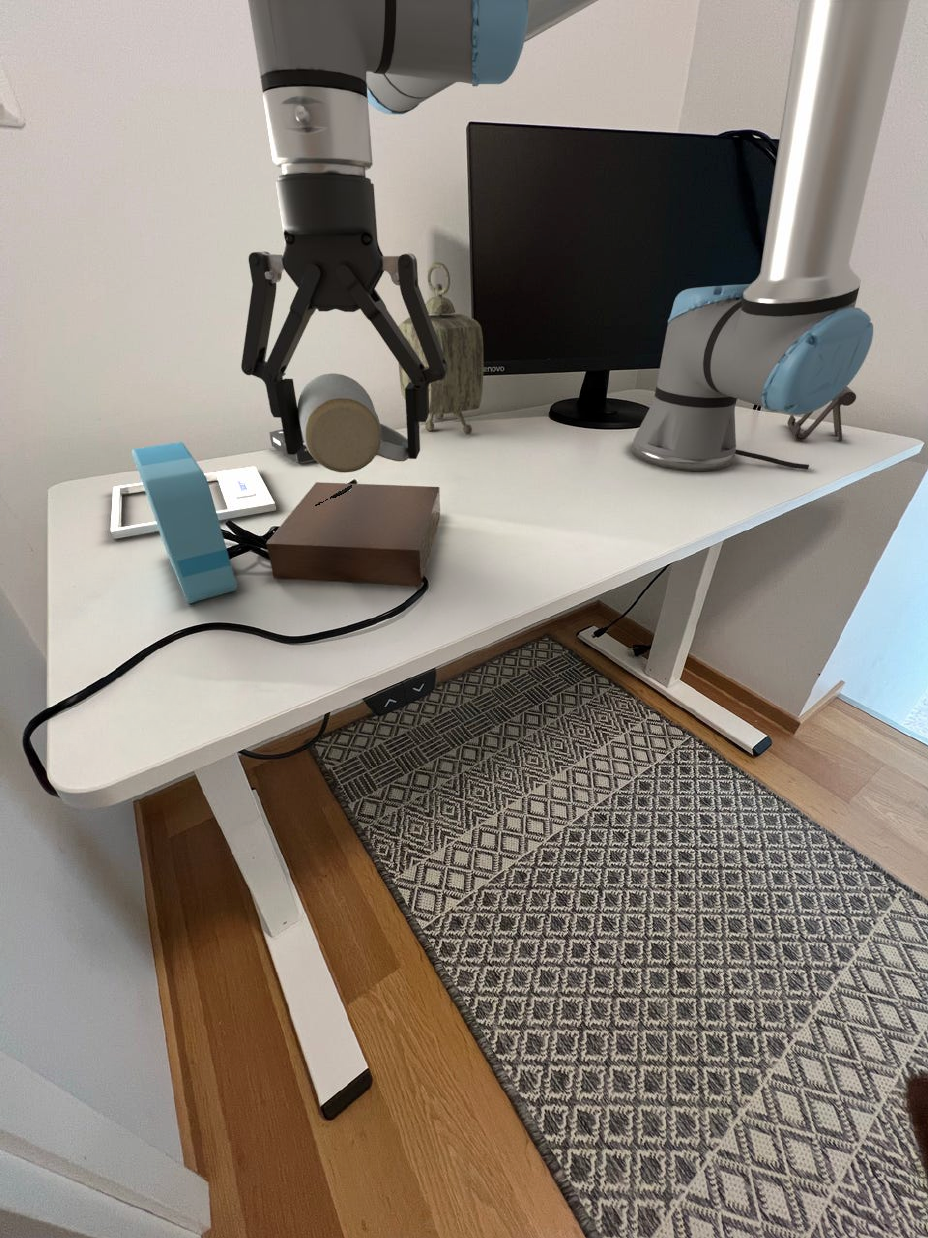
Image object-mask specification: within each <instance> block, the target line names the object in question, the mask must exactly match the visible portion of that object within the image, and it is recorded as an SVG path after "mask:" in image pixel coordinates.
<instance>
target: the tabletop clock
mask: <svg viewBox="0 0 928 1238" xmlns="http://www.w3.org/2000/svg"><path fill="white" fill-rule="evenodd" d="M437 268H438V269H442V271H443V272H444V274H445V277H446V286H445V287H444V288H443V285H442V284H441V283H436V284H435V285H434V286H433V284H432V281H431V279H432V278H431V276H432V273H433V271H434V269H437ZM427 284H428V287H429V290H431V291H432V293H433V294H435V296H434V297H430V298H429V299H428V300H426V302H425V305H426V308H427V310H428V313H429V316H430V319H431V321H432V324H433V327H434V330H435V333H436V335H437V338H438V341H439V344H440V346H441V349H442V352H443V355H444V357H445V360H446V363H447V366H448V371H447V373H446V375H445V377H444V378H443V379H442V380H437V381H435V382H432V383H430V384H429V419H428V421H426V422H425V424H424V428H425V430H426V431H427V432H432V431H433V430H434V429H435V423H434V422H433V420H434V417H435V419H436V420H442V419H443V418H444V415H449V414H453V415H454V416H456V417H457V418H458V420H459V421H460V423H461V424H462V425H463V428H462V432H463V434H465V435H470V434H472V432H473V427H472V425H470V424H467V423H466V420H465V418H464V416H463V413H462V412H467V411H468V412H469V411H475V410H479V409H480V407H481V403H482V396H483V387H484V373H485V372H484V371H485V366H484V365H485V363H484V362H485V361H484V357H485V356H484V355H485V354H484V336H483V330H482V326H481V325H480V323H479V321H477V320H476V319H474V318H472V317H469V316H468V315H465V314H462V313H457V312H456V308H455V307H454V304H453V302H452V301H451V300H450V299H449V298H448V297H445V296H444V295H445V294H446V293H448V292H449V289H450V287H451V275H450V272H449V269H448V267H447V266H446V265H445V264H444V263H442V262H436V261H435V262H433V263H432V264H431V265H430V266H429V269H428V271H427ZM398 327H399V328H400V330H401V331H402V333H403V335H404V336H405V338H406V339H407V341H408V342H409V344H410V345H411V347H412V348H413V350H414V351H415V353H416V354H417V356H418V357H419V359H420V360H421V362H422V363H423V365H424V366H425V367H428V363H427V360H426V358H425V355H424V352H423V350H422V347H421V345H420V342H419V339H418V337H417V334H416V331H415V329H414V326H413V324H412V321H411V318H410V316H409V317H407V318H405V320H404V321H403V322H401V323H400V324H399V325H398ZM398 371H399V372H398V373H399V383H400V390H401V395H402V397H403V399H404V400H405V388H406V386H407V385H408V384H409V382H412V381H411V380H410V378H409V377H408V375H407V374H406V372H405V371H404V370H403V368H402V367H401V365H400V364H399V363H398Z"/></svg>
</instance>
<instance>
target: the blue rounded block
mask: <svg viewBox="0 0 928 1238" xmlns="http://www.w3.org/2000/svg"><path fill="white" fill-rule="evenodd" d="M131 455H132V457H133V460H134V464H135V466H136V469H137V472H138V475H139V478H140V481H141V483H143V486H144V489H145V491H144V492H145V494H146V495H145V496H146V498H147V500H148V504H149V506H150V509H151V512H152V514H153V518H154V520H155V522H156V523H157V526H158V529H159V531H158V532H159V535H160V537H161V540H162V544H163V546H164V548H165V551H166V554H167V557H168V559H169V562H170V564H171V567H172V569H173V572H174V574H175V576H176V579H177V581H178V583H179V584H178V585H179V586H180V588H181V591H182V594H183V596H184V598H185V600H186V603H188V604H192V603H195V602H196V603H197V602H200V601H203V600H206V599H210V598H213V597H217V596H221V595H224V594H228V593H231V592H235V591H237V588H238V587H237V585H238V584H237V581H236V578H235V574H234V570H233V567H232V563H231V559H230V556H229V552H228V548H227V545H226V542H225V537H224V534H223V531H222V527H221V523H220V520H218V516H217V513H216V511H217V510H216V505H215V502H214V499H213V495H212V491H211V488H210V486H209V481H208V482H207V479H206V477H205V475H204V474H205V473H204V471H203V469H202V468H201V466H200V465H199V464H198V463H197V461H196V460H195V458H194V457H193V455H192V454H191V452H190V451H189V450H188V448H187V447H186V445H185V444H184V442H183V441H178V442H172V443H171V442H170V443H165V444H158V445H152V446H146V447H145V446H144V447H137V448H133V449H132V450H131Z"/></svg>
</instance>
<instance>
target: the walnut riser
mask: <svg viewBox="0 0 928 1238" xmlns="http://www.w3.org/2000/svg"><path fill="white" fill-rule="evenodd" d="M350 485H352V489H351V490H350V491H348V492H346V493H344V494H342V495H340V496H337V497H336V498H331V499H330V497H331V496H333V495H334V494H336V493H338V492H339V491H342V490H343V489H345V488H347V487H348V486H350ZM440 492H441V491H440V486H424V485H402V484H401V485H398V484H397V485H396V484H373V483H372V484H371V483H369V484H368V483H367V484H366V483H349V482H348V483H347V482H346V483H344V482H320V481H319V482H317V481H315V483H314V484H313V485H312V486H311V488H310V489H309V490H308V492H307V493H306V494H305V495H304V496H303V498H302V499H301V500H300V501H299V503H298V504H297V505H296V506H295V507H294V509H293V510H292V511H291V512H290V514H289V515H288V516H287V517H286V519H285V520H284V521H283V522H282V524H280V526H279V527H278V528H277V530H276V531H275V532H274V533H273V534H272V536H271V537H270V538H269V539H268V540H267V542H266V543H265V544H266V545H265V546H266V550H267V554H268V558H269V562H270V567H271V571H272V576H273V579H275V580H290V581H293V580H294V581H314V582H332V583H333V582H334V583H351V584H352V583H353V584H373V585H390V586H391V585H392V586H395V585H396V586H411V587H412V586H414V587H415V586H416V587H422V585H423V581H424V577H425V574H426V570H427V566H428V562H429V559H430V555H431V552H432V548H433V546H434V541H435V537H436V534H437V530H438V526H439V523H440V519H441V498H440V497H441V496H440ZM326 499H328V500H326ZM325 500H326V501H325ZM323 501H324V502H323ZM319 502H323V503H320V505H317V506H315V505H316V504H318V503H319Z"/></svg>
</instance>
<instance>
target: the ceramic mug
mask: <svg viewBox="0 0 928 1238" xmlns="http://www.w3.org/2000/svg"><path fill="white" fill-rule="evenodd" d="M297 409H298V418H299V422H300V427H301V431H302V435H303V440H304V443H305V445H306V448H307V449H308V451H309V453H310V454H311V455H312V457H313V458H314V459H315V460H314V461H316V462H317V463H318V464H320V465H321V466H322V467H324V468H325V469H327V470H328V471H333V472H337V473H353V472H358V471H360V470H362V469H364V468H365V467H367V466H368V465H369V464H370V463H371V462H372V461H373V460H374V459H375V457H376V456H378V457H381V458H383V459H387V460H391V461H394V462H405V461H407V460H408V459H409V458H408V439H407V437H406V436H404V435H403V434H402V433H399V432H398V431H397V430H395V429H393V428H391V427H389V426H387V425H385V424H382V423H381V422H380V419H379V417H378V414H377V411H376V409H375V406H374V402H373V401H372V398H371V396H370V395H369V393H368V391H367V390H366V389H365V387H363V386H362V384H360V383H359V382H358V381H356V380H355V379H353V378H351V377H349V376H347V375H344V374H341V373H325V374H321V375H318V376H316V377H314V378H313V379H311V380H310V381H309V382H308V383H306V384H305V386H304V387H303V389H302V391H301V392H300V395H299V398H298V401H297Z"/></svg>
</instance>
